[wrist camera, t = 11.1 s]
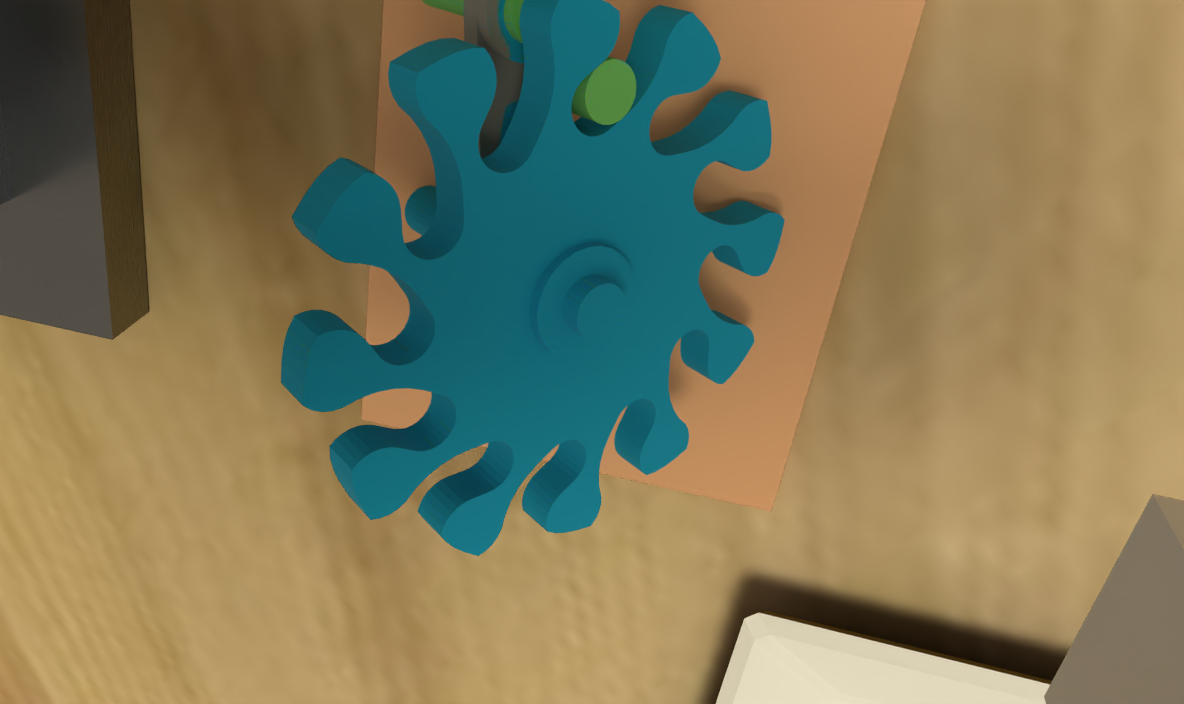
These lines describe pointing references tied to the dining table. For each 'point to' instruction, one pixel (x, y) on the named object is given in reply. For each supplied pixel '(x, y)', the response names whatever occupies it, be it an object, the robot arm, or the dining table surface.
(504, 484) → the gear
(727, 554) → the dining table surface
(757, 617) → the white square picture frame
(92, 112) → the shaft stand
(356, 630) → the dining table surface
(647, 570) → the dining table surface
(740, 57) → the pad
